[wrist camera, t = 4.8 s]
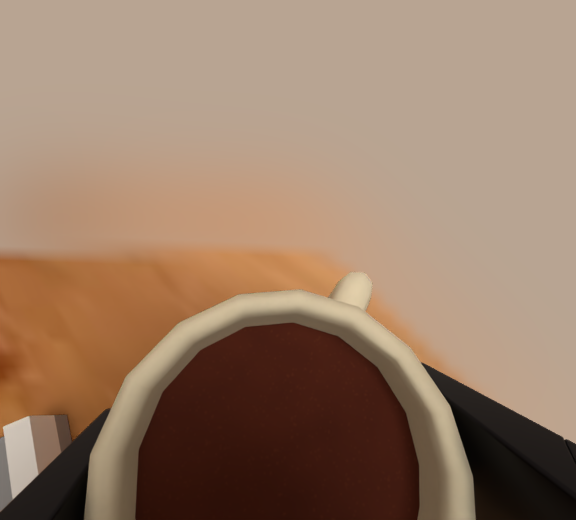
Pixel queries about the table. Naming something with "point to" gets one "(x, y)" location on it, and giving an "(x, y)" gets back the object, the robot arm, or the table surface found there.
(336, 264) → the table surface
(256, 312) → the character mug
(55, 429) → the shelf board
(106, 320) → the table surface
